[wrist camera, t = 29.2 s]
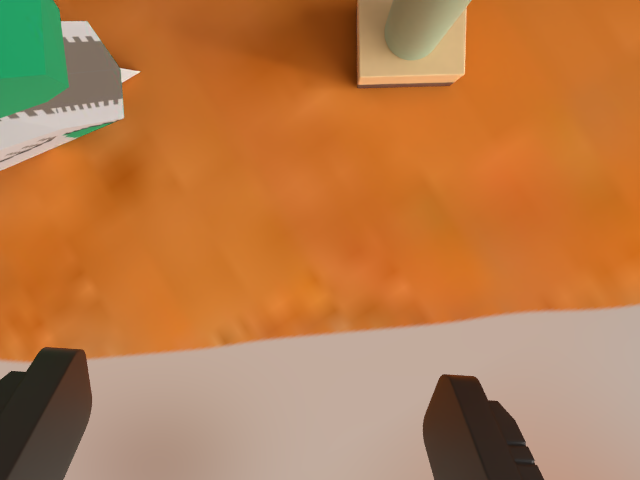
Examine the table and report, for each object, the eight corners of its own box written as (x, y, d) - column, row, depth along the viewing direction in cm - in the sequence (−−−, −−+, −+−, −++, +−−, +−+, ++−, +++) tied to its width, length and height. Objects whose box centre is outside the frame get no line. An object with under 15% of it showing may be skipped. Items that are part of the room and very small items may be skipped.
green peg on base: (356, 88, 25) (369, 26, 14) (356, 9, 25) (368, -118, 14) (450, 85, 25) (535, 20, 14) (451, 6, 24) (542, -126, 13)
